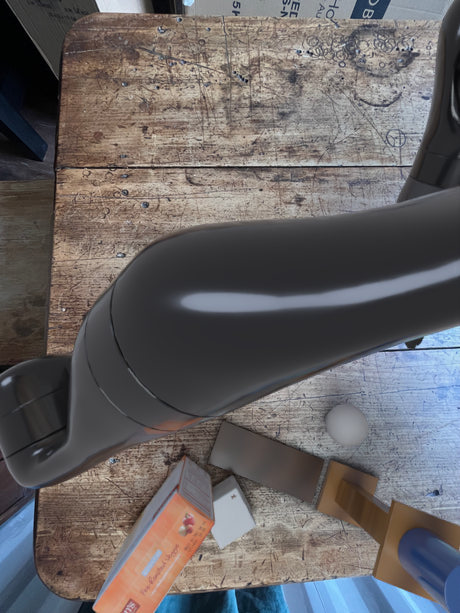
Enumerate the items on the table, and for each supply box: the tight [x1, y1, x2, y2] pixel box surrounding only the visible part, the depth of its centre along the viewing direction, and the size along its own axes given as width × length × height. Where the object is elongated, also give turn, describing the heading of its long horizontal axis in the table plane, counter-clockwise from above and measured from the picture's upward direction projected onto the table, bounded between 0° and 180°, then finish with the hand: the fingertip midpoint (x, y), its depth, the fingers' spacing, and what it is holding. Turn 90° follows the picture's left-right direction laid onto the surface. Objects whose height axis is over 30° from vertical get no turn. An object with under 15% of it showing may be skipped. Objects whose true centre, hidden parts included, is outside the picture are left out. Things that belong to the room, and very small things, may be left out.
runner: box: [207, 420, 325, 504], centre depth 61 cm, size 18×7×1 cm, turn 69°
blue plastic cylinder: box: [398, 528, 460, 613], centre depth 36 cm, size 5×5×8 cm
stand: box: [315, 459, 460, 605], centre depth 51 cm, size 8×8×22 cm
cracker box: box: [92, 454, 215, 613], centre depth 49 cm, size 14×6×21 cm, turn 143°
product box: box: [210, 475, 257, 550], centre depth 57 cm, size 6×6×7 cm
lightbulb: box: [323, 403, 370, 448], centre depth 58 cm, size 6×6×11 cm
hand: (376, 341), depth 49 cm, fingers open, 8 cm apart
